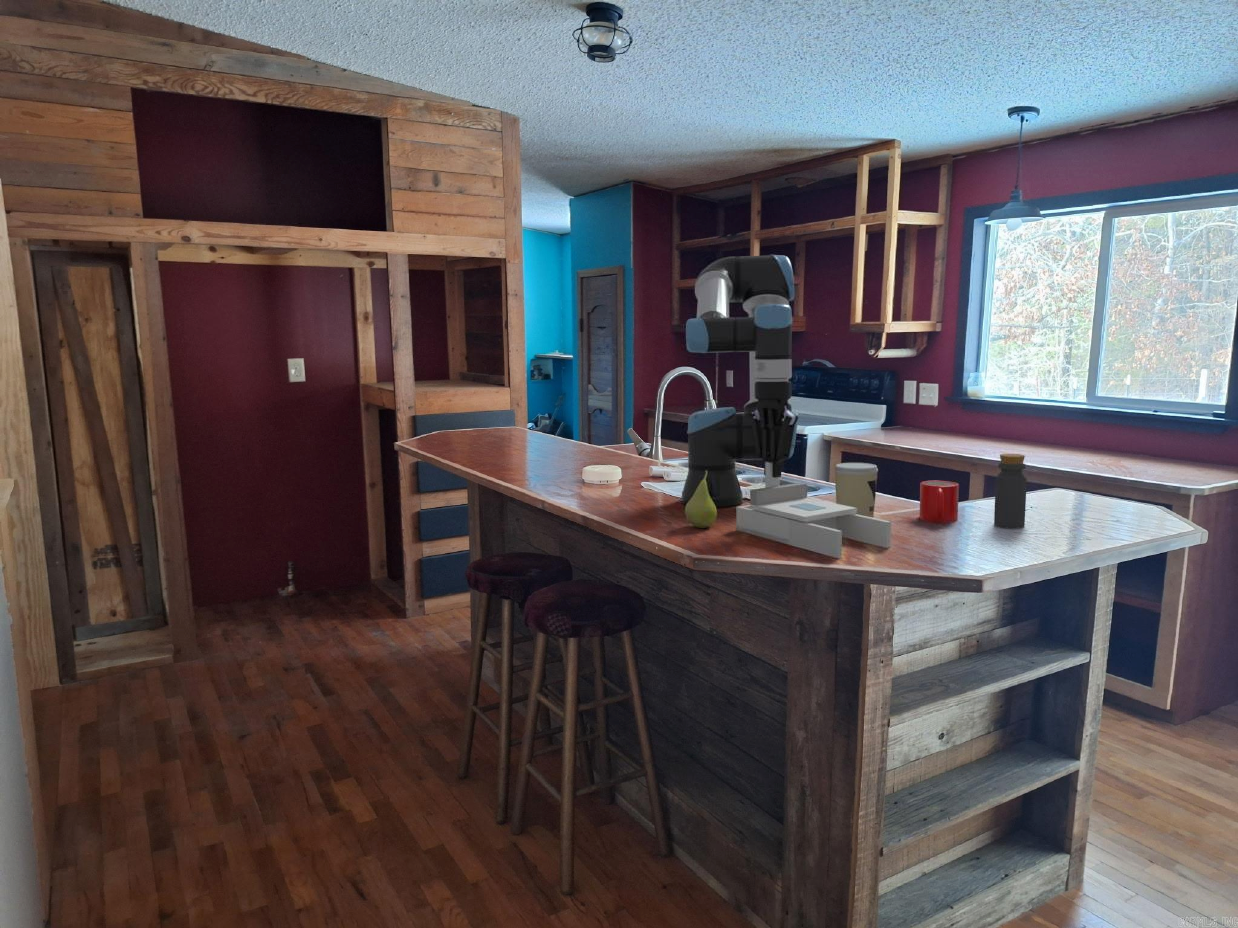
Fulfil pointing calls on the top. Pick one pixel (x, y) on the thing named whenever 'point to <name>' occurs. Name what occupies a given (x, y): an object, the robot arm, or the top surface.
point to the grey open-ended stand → (815, 530)
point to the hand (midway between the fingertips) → (772, 492)
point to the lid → (795, 503)
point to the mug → (939, 501)
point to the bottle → (1010, 492)
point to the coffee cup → (856, 486)
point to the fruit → (701, 507)
